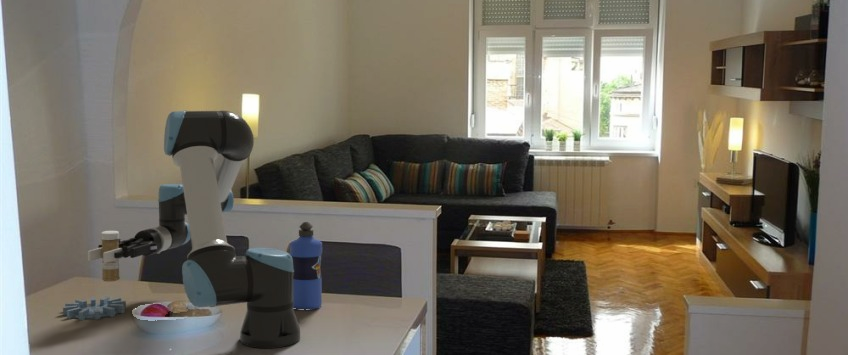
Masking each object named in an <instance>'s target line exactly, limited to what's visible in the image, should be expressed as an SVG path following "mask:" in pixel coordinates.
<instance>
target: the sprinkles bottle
mask: <svg viewBox="0 0 848 355" xmlns="http://www.w3.org/2000/svg"><path fill="white" fill-rule="evenodd" d="M119 232H120V231H118V230H105V231H104V230H103V231H102V232H100V239H101V245H102V258H101V269H102V270H101V271H102V279H101V280H102V281H103V282H116V281H119V280H120V259H117V260H114V261H110V262H107V263H104V260H103V253H104V252H107V251H111V250H115V249H118V248H119V244H118V243H119V242H118V240H119V239H120V233H119Z"/></svg>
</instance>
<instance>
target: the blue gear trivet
mask: <svg viewBox="0 0 848 355" xmlns="http://www.w3.org/2000/svg"><path fill="white" fill-rule="evenodd" d="M125 310H127V302H126V300H122V298H121V297H116V298H115V297H114V298H112V299H111V298H110V296H104V297H102V298H100V300H99V302H96V297H95V296H91V297H89V303H87V300H83V299H80V298H78V299H75V300H74V302H66V303H65V305H64V306H62V316H63V317H64V316H66V319H69V320H70V319H78V320H79V321H85V320H90V319H92V320H93V319H94V320H95V321H96V320H101V318H107V317H110V318H114V317H116V315H117V314H124V313H125Z"/></svg>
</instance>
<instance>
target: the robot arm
mask: <svg viewBox="0 0 848 355" xmlns="http://www.w3.org/2000/svg"><path fill="white" fill-rule="evenodd" d="M164 127H165V128H164V134H163V136H164V137H163V151H164V154H165V155H166V156H169V157H170V156H171V157H172V161H173V164H174V165H175V166H177V167H179V168H180V175H181V176H180V177H181V182H182V183H164V184H162V185H160V186H159V187H158V200H157V201H158V202H157V203H158V214H159V215H158V225H157V226H153V227H151V228H147V229H142V230H139V231H138V232H137V233H136V234H135V236H133V237H130V238H129V239H125V240H122V239H121V238H119V240H118V242H119V243H118V244H119V248H118V249H115V250H111V251H107V252H104V253H103V260H104V263H107V262H110V261H114V260H117V259H119V260H120V259H123V258H125V259H126V258H131V259H133V258H137V257H140V256H144V257H147V256H148V257H149V256H152V255H155V254H157V255H158V254H161V252H163V251H166V250H170V249H175V248H178V247H181V246H184V245H185V244H187V243H189V241H191V242H190V243H191V247H192V248H191V250H190V252H188V254H187V257H186V258H187V260H186V261H184V262H183V263H182V268H181V274H182V282H183V286H184V291H185V294H186V297H187V299H188V301H189V302H190V303H191V304H192V306H194V307H196V308H209V307H210V308H215V307H218V306H225V305H236V304H244V303H245V304H246V313H245V316H244V319H243V322H242V326H241V328H240V333H239V336H240V339H239V341H240V342H241V344H243V345H244V346H248V347H251V348H257V349H258V348H259V349H260V348H261V349H272V348H276V349H277V348H283V347H287V346H290V345H291V346H292V345H294V344H296V343H297V342H298V341H300V340H301V328H300V325H299V321H298V319H297V316H296V314H295V313H296V312H295V310H294V309H293V272H294V269H293V259H292V256H291V255H290V252H287V251H284V250H281V249H278V248H277V249H276V248H270V247H269V248H268V247H252V248H251V247H250V248H248V249H247V250H246V252H245V255H238V256H237V255H236V249H235V247H234V246H233V245H231V244H229V243H228V240H227V239H228V238H227V234H226V228H225V221H224V214H223V213H227V212H228V213H229V212H230V211H232V210H233V208H234V202H235V200H234V192H233V191H232V190H233V186H234V184H235V182H236V179H237V177H238V176H239V173H240V170H241V167H242V165H243V163H244V161H246V160H247V159H248V158H249V157H250V156H251V153H252V151H253V148H254V142H255V140H254V139H255V138H254V134H253V131H252V129H251V126H250V125H249V124H248V123H247V121H246V120H245V119H244V118H243V117H241V116H240V115H239V114H238V113H235V112H233V111H229V110H177V111H171V112H170V113H169V114H168V115H167V119H166V121H165V126H164ZM185 215H186V216H187V222H186V218H185V217H186V216H185ZM97 247H98V248H93V249H90V250H87V261H88V262H92V261H96V260H100V259H102V244H98V246H97Z"/></svg>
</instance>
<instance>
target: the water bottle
mask: <svg viewBox="0 0 848 355" xmlns="http://www.w3.org/2000/svg"><path fill="white" fill-rule="evenodd" d="M299 228H300V229H298V236H299V237H298V238H297V239H294V240H293V241H291V242H289V254H290V255H291V256H292V259H293V269H294V272H293V308H296V309H304V310H306V309H316V308H319V307H321V308H322V306H321V305H322V304H323V303H322V302H323V301H322V298H323V297H322V293H323V292H322V289H323V288H322V287H323V286H322V283H323V282H322V279H323V278H322V272H321V264H322V263H321V261H322V254H323V242H322V241H320V240H318V239H316V238H315V237H314V229H312V228H313V225H312V224H311V223H310V222H308V221H305V222H302V223H301V224H300V225H299ZM319 309H320V308H319ZM316 310H317V309H316Z"/></svg>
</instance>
